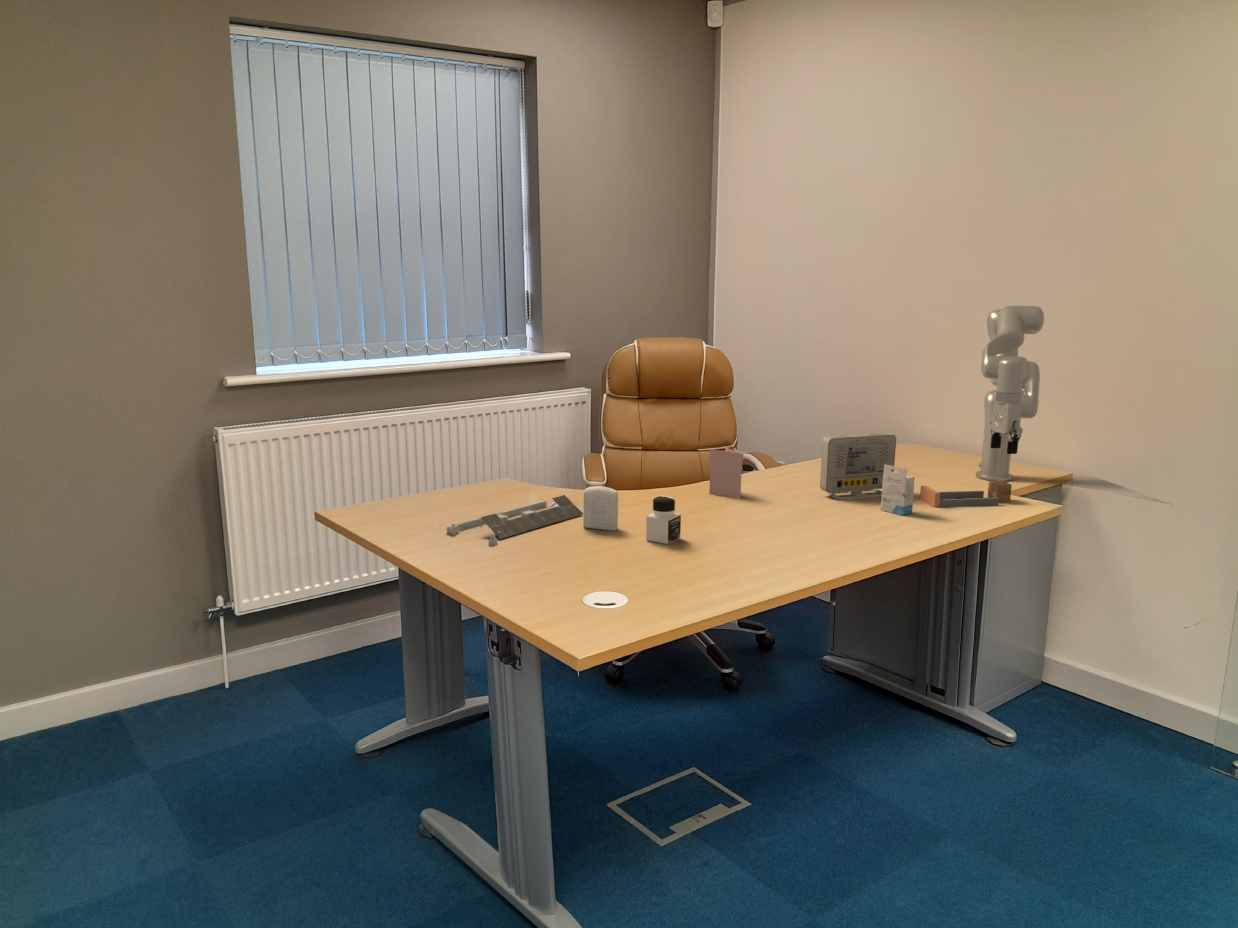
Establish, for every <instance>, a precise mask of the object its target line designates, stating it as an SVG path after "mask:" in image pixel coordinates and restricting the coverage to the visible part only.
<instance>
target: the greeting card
mask: <svg viewBox="0 0 1238 928" xmlns="http://www.w3.org/2000/svg"><path fill="white" fill-rule="evenodd" d="M709 455H710V456H709V457H710V458H709V459H710V460H709V461H710V462H709V491H708V492H709V493H708V494H709V495H715V496H720V497H725V498H726V497H727V498H734V499H741V495H742V493H741V492H742V467H743V453H741V452H739V451H736V450H733V449H731V448H728V447H726V446H725V447H724V451H723V450H717V449H716V450H715V449H710V454H709Z"/></svg>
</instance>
